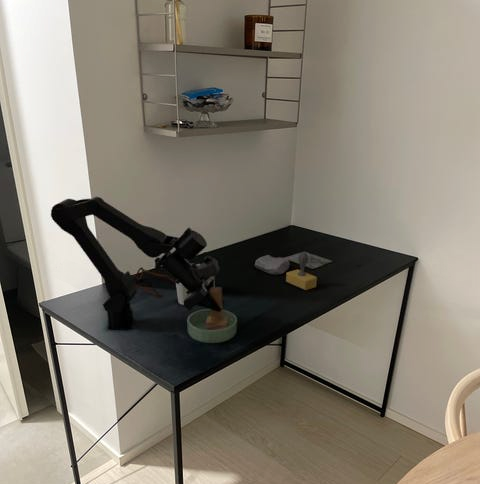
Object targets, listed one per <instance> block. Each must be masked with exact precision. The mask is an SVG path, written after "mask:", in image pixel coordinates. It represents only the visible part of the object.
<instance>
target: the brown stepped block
mask: <svg viewBox="0 0 480 484" xmlns="http://www.w3.org/2000/svg"><path fill="white" fill-rule="evenodd" d="M210 292H211V296H212V297H213V299H214V300H215V301H216V302H217V304H218V305H219V306H220V308H221V309H222V310H221V311H220V312H217V311H214V310H211V316H208V317H207V319H206V330H220V329H224V328H227V327H229V324H228V317H224V316H223V310H224V309H223V306H224V304H223V287H222V286H215V287H211V289H210Z"/></svg>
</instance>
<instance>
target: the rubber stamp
mask: <svg viewBox="0 0 480 484" xmlns="http://www.w3.org/2000/svg"><path fill="white" fill-rule="evenodd" d="M305 252H306V251H302V253H301V252H299V253H300V254H299V257H298V261H299V264H298V265H299V267H300V269H293V270H291V271H288V272H287V271H286V273H285V274H286V275H285V276H286V277H285V282H286V283H288V284H290V285H292V286H294V287H297V288H299V289H302V290H304V291H308V290H311V289H314V288H317V281H318V277H317V276H315V275H312V274H311V273H307V272H305V267H307V266H306V264H307V261H308V255H307V253H308V252H307V253H305Z"/></svg>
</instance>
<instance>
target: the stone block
mask: <svg viewBox="0 0 480 484" xmlns="http://www.w3.org/2000/svg"><path fill="white" fill-rule="evenodd" d="M254 267H255V268H256V269H257V270H260V271H263V272H265V273H267V274H270V275H282V274H284V273H285V272H287V271H289V269H290V260H287V259H286V258H285V257H280V256H279V257H274V256H271V255H269V254H266V255H263V256H260V257H259V258H257V259H256V260H255V263H254Z"/></svg>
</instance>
